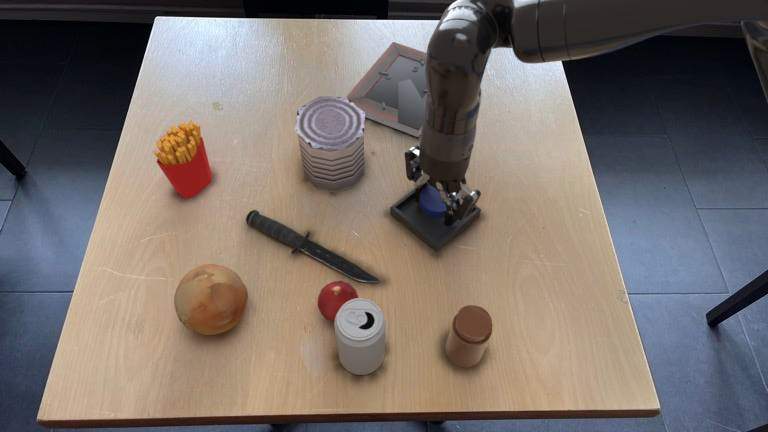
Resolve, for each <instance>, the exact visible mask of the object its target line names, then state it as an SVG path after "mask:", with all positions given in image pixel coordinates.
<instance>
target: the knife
mask: <svg viewBox="0 0 768 432" xmlns="http://www.w3.org/2000/svg"><path fill="white" fill-rule="evenodd" d="M245 222H246V224H247V225H248V226H250V227H252V226H253V227H255V228H256V229H258V230H260V231H261V232H263V233H264V234H267V235H268V236H270V237H272V238H273V239H276V240H278V241H280V242H281V243H284V244H286V245H289V246H291V247H293V248H292V250H291V254H295V253H296V252H298V251H300V252H302V253H305V254H306V255H309V256H310V257H312V258H314V259H316V260H318V261H320V262H322V263H324V264H325V265H327V266H329V267H330V268H333V269H334V270H336V271H339V272H340V273H342V274H344V275H346V276H348V277H349V278H351V279H353V280H356V281H359V282H363V283H379V282H382V280H381V279H379V278H378V277H377V276H374V275H373V274H372V273H369V272H368V271H366V270H364V268H361V267H360V266H359V265H357V264H356V263H353V262H352V261H351V260H349V259H347V258H346V257H343V256H341V255H340V254H337V253H335V252H334V251H332V250H330V249H328V248H326V247H324V246H322V245H321V244H319V243H317V242H315V241H313V240H311V239H309V238H310V237H309V236H310V233H311V232H310V231H307V233H306V234H305V236H304V235H302V234H301V233H299V232H298V231H296V230H294V229H292V228H291V227H289V226H287V225H285V224H283V223H281V222H279V221H277V220H274V219H273V218H270V217H269V216H266V215H263V214H261V213H260V211H259V210H257V209H253V210H250V211H249V212H248V213H247V215H246V217H245Z"/></svg>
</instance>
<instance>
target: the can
mask: <svg viewBox="0 0 768 432" xmlns="http://www.w3.org/2000/svg"><path fill="white" fill-rule="evenodd" d="M365 120H366V117H365V112H363V111H362V110H361V109H360V108H359V107H357V106H356V105H355V104H354V103H353V102H352V101H350V100H349V99H348V98H347V96H345V97H344V96H327V95H318V96H316V97H315V98H314V99H312V100H311V101H308V102H307V103H306V104H304V105H303V106H301V107H299V108H298V109H297V112H296V118H295V124H294V125H295V126H294V132H295V133H296V134H297V139H298V140H297V141H298V146H299V151H300V158H301V164H302V169H303V175H304V178H305V179H306V180H307V181H308V182H309V183H310V184H311V186H313V188H314V189H315V190H320V191H326V192H329V193H334V194H335V193H340V192H342V191H346V190H349V189H353V188H354V187H355V186H357V184H358V183H359V182H360V181H361V180H362V178H363V177H364V176H365V174H366V173H365V138H364V137H365V124H366V123H365V122H366V121H365Z"/></svg>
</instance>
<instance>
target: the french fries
mask: <svg viewBox="0 0 768 432" xmlns="http://www.w3.org/2000/svg"><path fill="white" fill-rule="evenodd" d="M170 128H171V129H170ZM170 128H167V129H165V131H166V133H164V134H163V135H161V136H159V137H158V140H156V141H155V143H156V144H155V145H156V147H157V148H156V149H154V150H153V151H152V152H153V154H154V155H155V157H156V158H157V159H156V164H157V165H158V166H159V168H160V169H161V171H162V173H163V174H164V176H165V177H166V178H167V180H168V181H169V183H170V184H171V186H172V187H173V188H174V190H175V192H176V193H177V194H179V196H181V197H182V198H184V199H186V198H192V197H194V196H196V195H198V193H200V192H201V191H203V189H205V188H206V187H207V186H208V185H209V184H210V183H211V182H212V177H213V175H212V170H211V167H210V162H209V158H208V155H207V150H206V146H205V142H204V138H203V136H201V125H200V124H199V123H198V122H194V121H193V120H192V119H191V120H189V121H188V123H187V121H184V122H183V123H181V122H180V123H178V124H177V126H175V125H174V124H173V125H172V126H170ZM157 149H158V150H157Z"/></svg>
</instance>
